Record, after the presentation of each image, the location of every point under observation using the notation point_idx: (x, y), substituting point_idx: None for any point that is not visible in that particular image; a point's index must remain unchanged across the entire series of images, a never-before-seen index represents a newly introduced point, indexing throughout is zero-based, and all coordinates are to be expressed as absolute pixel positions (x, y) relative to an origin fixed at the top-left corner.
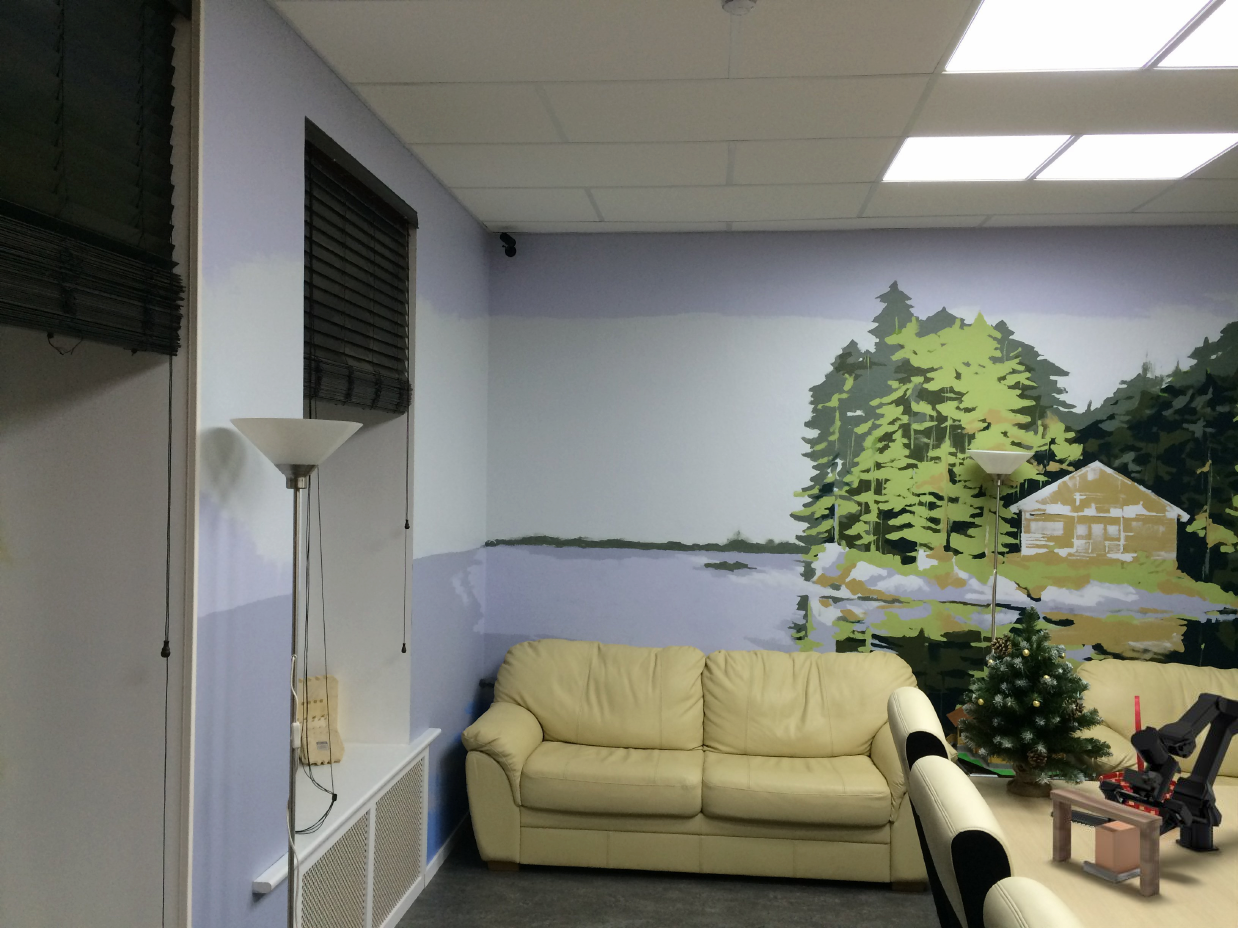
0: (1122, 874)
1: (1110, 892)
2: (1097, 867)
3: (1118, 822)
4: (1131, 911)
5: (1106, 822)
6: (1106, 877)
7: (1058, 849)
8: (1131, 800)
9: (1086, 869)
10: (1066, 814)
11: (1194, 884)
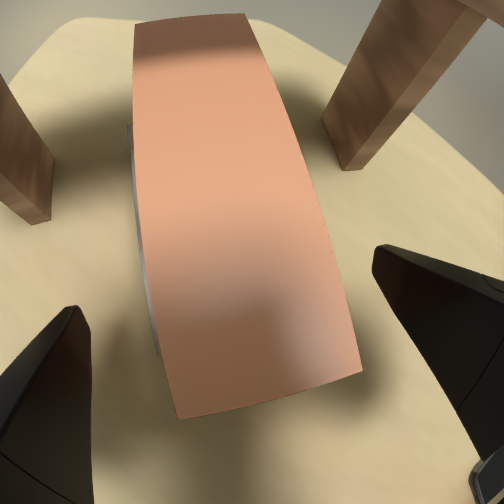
0: None
1: (101, 94)
2: None
3: (276, 178)
4: (30, 82)
5: (497, 479)
6: None
7: (334, 94)
8: (497, 498)
9: None
10: (406, 37)
11: None
